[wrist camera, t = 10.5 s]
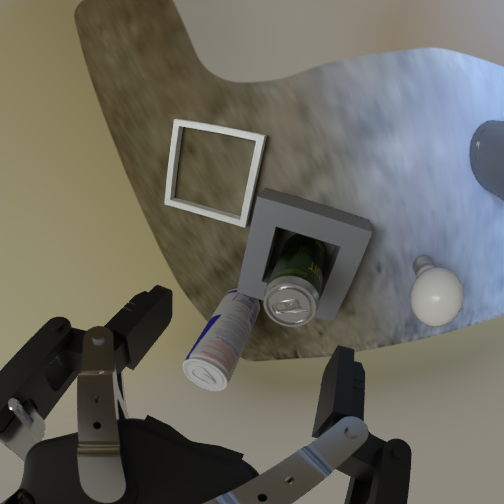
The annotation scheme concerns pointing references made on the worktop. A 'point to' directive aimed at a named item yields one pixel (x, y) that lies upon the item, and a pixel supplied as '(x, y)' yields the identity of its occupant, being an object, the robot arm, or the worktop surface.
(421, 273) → the lightbulb
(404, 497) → the robot arm
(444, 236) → the worktop surface
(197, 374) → the beverage can
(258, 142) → the square frame
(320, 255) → the beer can
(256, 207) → the socket block
